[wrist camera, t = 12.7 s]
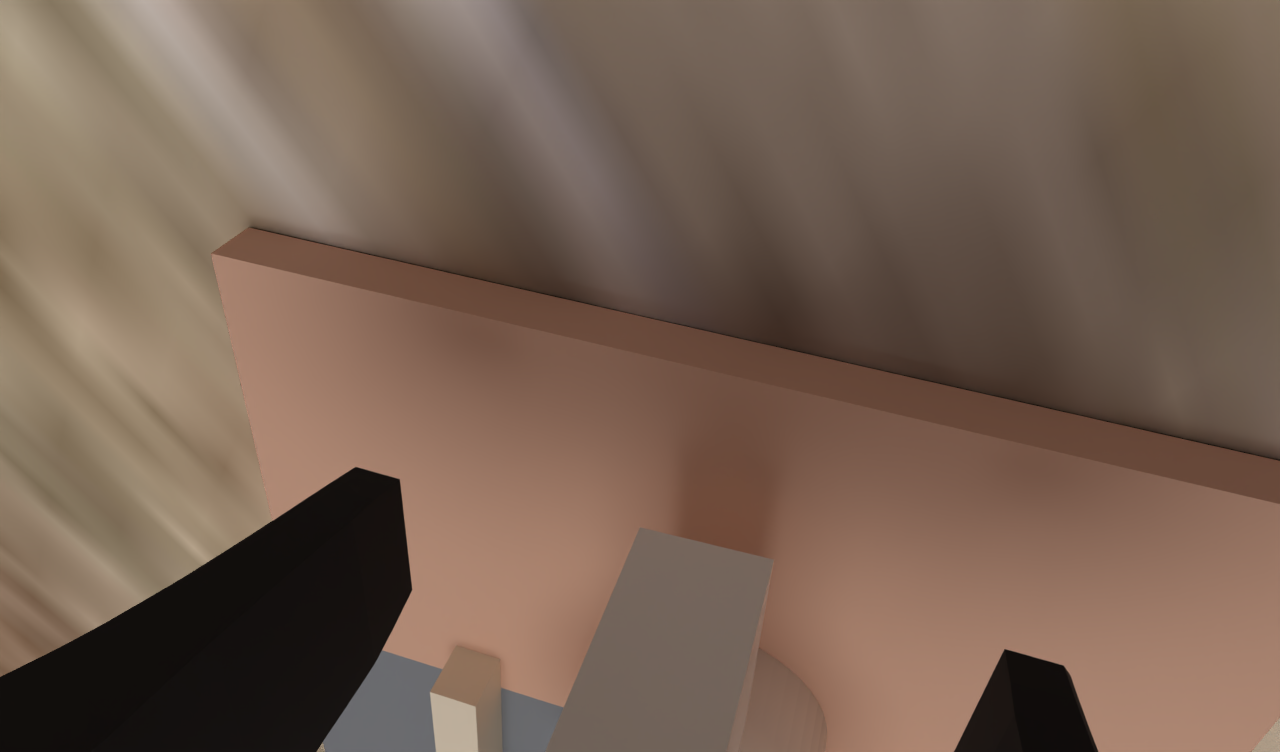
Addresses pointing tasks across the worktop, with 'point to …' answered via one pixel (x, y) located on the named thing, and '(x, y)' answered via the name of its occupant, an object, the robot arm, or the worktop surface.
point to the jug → (687, 661)
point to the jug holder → (745, 513)
